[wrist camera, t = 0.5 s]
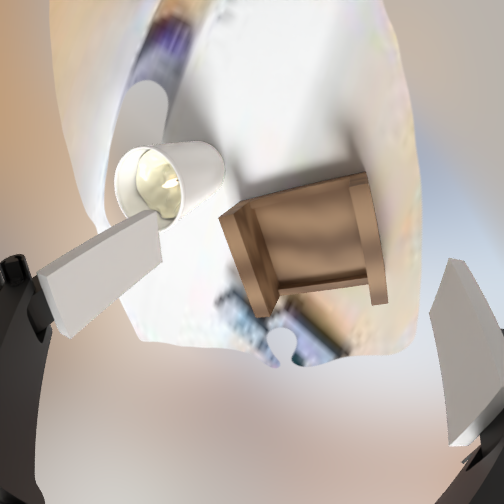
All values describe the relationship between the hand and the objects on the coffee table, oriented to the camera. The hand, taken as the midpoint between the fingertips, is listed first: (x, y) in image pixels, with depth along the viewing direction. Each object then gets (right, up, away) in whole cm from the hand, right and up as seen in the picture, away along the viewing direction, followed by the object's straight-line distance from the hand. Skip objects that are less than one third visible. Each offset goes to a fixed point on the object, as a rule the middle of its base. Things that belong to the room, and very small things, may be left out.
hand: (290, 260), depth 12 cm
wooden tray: (+7, +2, +26) cm, 27 cm away
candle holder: (-9, +12, +28) cm, 32 cm away
